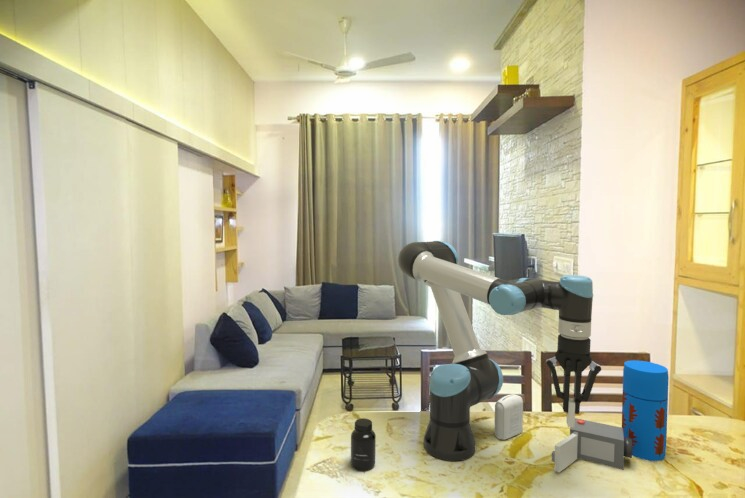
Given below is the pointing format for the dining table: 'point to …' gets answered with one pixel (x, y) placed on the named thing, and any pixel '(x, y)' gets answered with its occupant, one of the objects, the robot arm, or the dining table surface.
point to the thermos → (645, 408)
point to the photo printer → (508, 416)
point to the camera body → (602, 443)
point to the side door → (565, 452)
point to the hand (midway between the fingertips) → (570, 424)
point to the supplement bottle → (363, 445)
